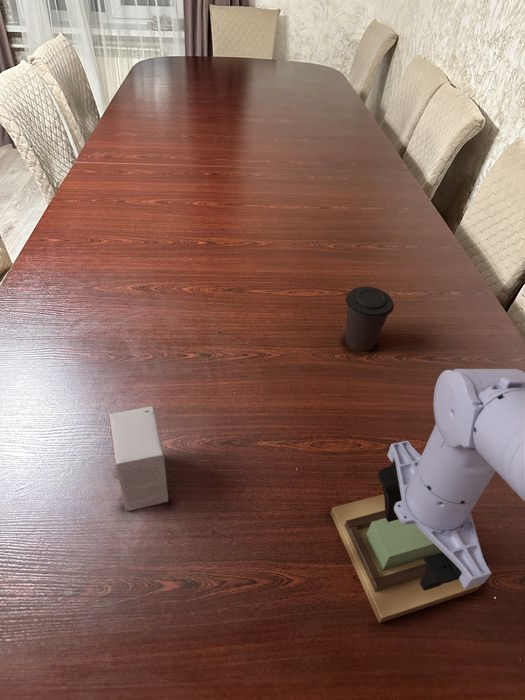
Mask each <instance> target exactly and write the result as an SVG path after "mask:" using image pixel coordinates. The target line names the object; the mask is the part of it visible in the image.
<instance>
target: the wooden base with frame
mask: <svg viewBox="0 0 525 700" xmlns="http://www.w3.org/2000/svg"><path fill="white" fill-rule="evenodd" d="M330 516H331V518H332V521H333V523H334V525H335V527H336V529H337V532H338V534H339V536H340V539H341V540H342V543H343V545H344V548H345V549H346V552H347V554H348V556H349V558H350V561H351V563H352V565H353V568H354V570H355V572H356V574H357V577H358V579H359V581H360V583H361V586H362V587H363V590H364V592H365V595H366V596H367V599H368V601H369V604H370V606H371V608H372V610H373V613H374V615H375V617H376V619H377V622H378V623H379V624H381V623H384V622H387V621H390V620H393V619H396V618H399V617H402V616H405V615H408V614H411V613H414V612H418V611H420V610H424V609H426V608H429V607H432V606H435V605H438V604H442V603H444V602H447V601H450V600H454V599H456V598H459V597H462V596H465V595H468V594H472V593H474V592H477V591H479V589H480V588H481V587H482V584H480V585H477V586H474V587H471V588H468V589H464V587H463V585H462V584H461V582H460V580H459V579H458V580H454V581H451V582H448V583H444V584H442V585H441V586H438V587H435V588H432V589H429V590H425V591H424V590H423V589H422V587H421V585H420V581H421V579H422V577H423V575H424V573H425V569H426V565H425V561H424V560H423V559H424V558H423V559H420V560H416V561H413V562H410V563H407V564H403V565H400V566H397V567H393V568H390V569H387V570H384V571H382V569H381V567H380V565H379V562H378V560H377V558H376V556H375V554H374V552H373V550H372V548H371V546H370V544H369V542H368V540H367V537H366V535H367V532H368V530H369V527H370V525H371V522H373V521H377V520H380V519H384V518H385V499H384V493H382V494H378V495H375V496H370V497H367V498H363V499H360V500H359V499H358V500H355V501H351V502H348V503H344V504H341V505H337V506H333V507H331V510H330Z"/></svg>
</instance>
